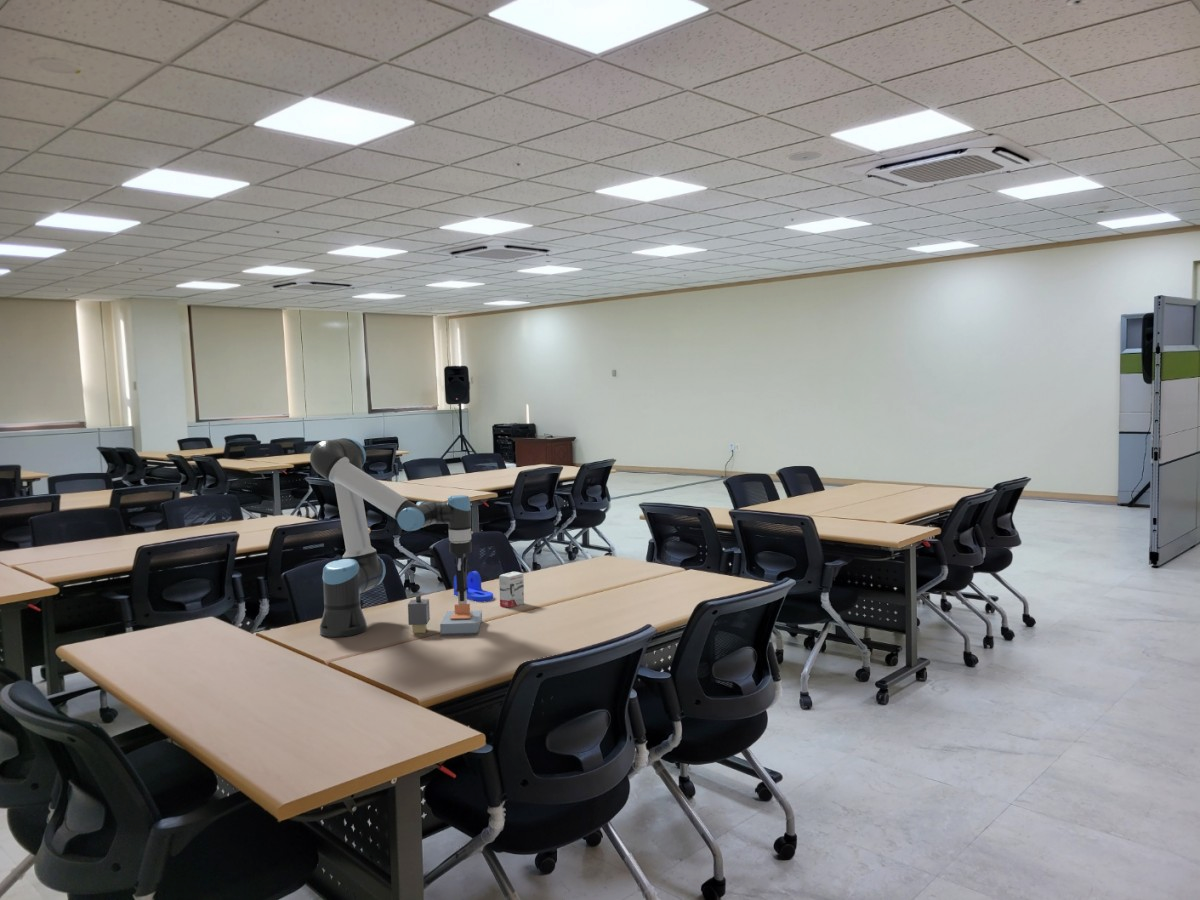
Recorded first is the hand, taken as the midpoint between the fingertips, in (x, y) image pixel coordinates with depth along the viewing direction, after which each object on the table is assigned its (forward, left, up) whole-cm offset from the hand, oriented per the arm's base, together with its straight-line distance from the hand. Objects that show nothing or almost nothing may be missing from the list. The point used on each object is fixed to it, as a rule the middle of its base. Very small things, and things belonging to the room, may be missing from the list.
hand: (462, 609), depth 283 cm
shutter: (0, -4, -1) cm, 4 cm away
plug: (-14, -5, -6) cm, 16 cm away
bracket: (0, +41, -6) cm, 41 cm away
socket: (0, -4, -6) cm, 7 cm away
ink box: (+15, +26, -6) cm, 31 cm away
